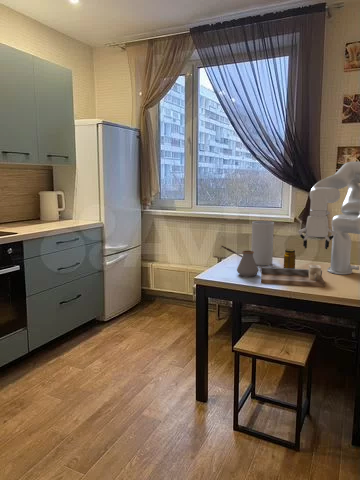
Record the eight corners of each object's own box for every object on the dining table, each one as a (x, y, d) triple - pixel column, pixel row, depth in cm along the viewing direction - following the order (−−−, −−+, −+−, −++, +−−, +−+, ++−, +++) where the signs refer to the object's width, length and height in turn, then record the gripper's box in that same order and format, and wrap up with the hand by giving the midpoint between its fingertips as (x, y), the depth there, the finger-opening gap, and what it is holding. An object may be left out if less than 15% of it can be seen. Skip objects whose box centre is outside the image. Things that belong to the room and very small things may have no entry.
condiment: (280, 269, 208) (281, 248, 205) (294, 268, 209) (295, 248, 207) (286, 273, 201) (287, 251, 198) (300, 272, 202) (302, 250, 200)
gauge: (318, 276, 186) (319, 265, 185) (321, 282, 177) (322, 270, 176) (308, 276, 187) (308, 264, 186) (310, 281, 178) (311, 269, 177)
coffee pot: (260, 273, 200) (261, 246, 197) (255, 279, 190) (255, 250, 187) (223, 269, 209) (224, 243, 206) (216, 274, 199) (216, 247, 196)
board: (321, 279, 188) (321, 270, 187) (324, 286, 176) (325, 276, 175) (261, 276, 194) (261, 267, 193) (260, 283, 183) (261, 273, 182)
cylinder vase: (249, 264, 218) (250, 223, 214) (253, 260, 230) (254, 220, 225) (270, 266, 214) (272, 224, 209) (273, 261, 225) (275, 221, 220)
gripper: (335, 213, 180) (333, 247, 183) (298, 212, 183) (296, 246, 186) (338, 215, 172) (335, 250, 175) (300, 214, 176) (298, 249, 179)
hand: (315, 248), depth 181 cm, fingers open, 9 cm apart
